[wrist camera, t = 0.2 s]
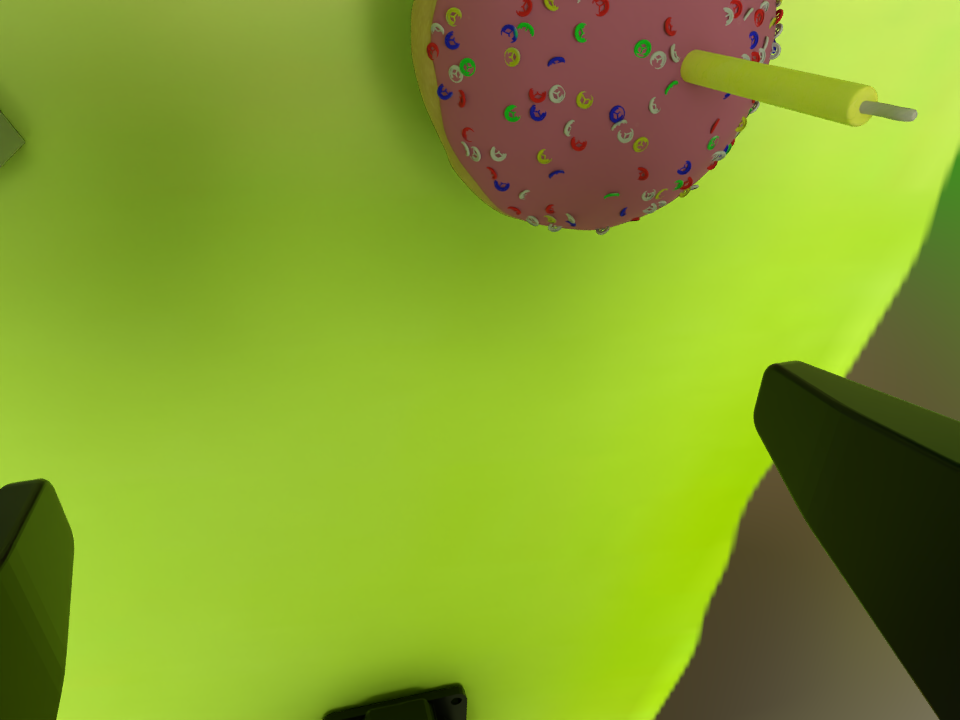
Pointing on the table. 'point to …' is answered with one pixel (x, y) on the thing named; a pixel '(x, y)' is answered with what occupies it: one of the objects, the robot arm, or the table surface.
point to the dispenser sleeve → (8, 140)
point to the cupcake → (606, 98)
